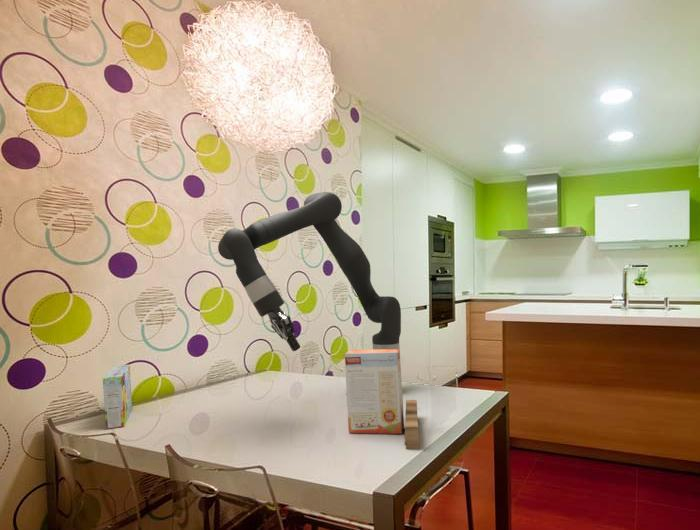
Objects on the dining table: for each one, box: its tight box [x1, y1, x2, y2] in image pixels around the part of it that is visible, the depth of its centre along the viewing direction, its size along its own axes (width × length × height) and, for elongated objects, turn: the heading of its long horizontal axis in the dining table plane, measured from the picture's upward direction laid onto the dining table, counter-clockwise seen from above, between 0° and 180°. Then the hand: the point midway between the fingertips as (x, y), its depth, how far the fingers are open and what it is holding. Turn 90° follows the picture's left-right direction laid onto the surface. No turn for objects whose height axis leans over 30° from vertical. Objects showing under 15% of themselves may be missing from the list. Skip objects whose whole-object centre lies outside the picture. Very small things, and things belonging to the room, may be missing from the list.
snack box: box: [102, 364, 133, 430], centre depth 146 cm, size 21×6×15 cm, turn 19°
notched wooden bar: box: [404, 399, 420, 450], centre depth 121 cm, size 24×3×5 cm, turn 173°
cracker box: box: [344, 349, 405, 435], centre depth 124 cm, size 14×6×21 cm, turn 77°
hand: (296, 349), depth 130 cm, fingers closed
